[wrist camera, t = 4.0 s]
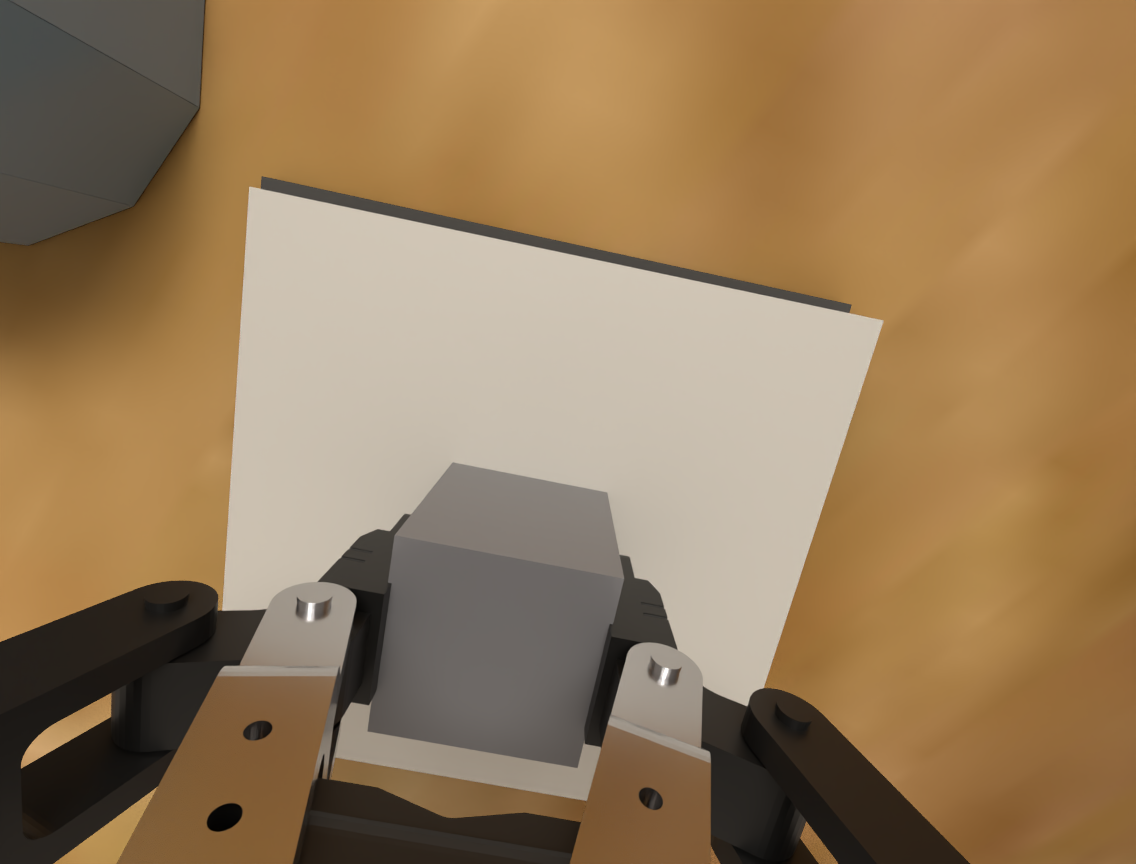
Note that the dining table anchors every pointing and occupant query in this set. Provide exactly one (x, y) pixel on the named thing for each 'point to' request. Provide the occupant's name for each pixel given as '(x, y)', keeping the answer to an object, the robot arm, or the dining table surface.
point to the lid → (523, 469)
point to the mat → (538, 242)
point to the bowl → (90, 106)
